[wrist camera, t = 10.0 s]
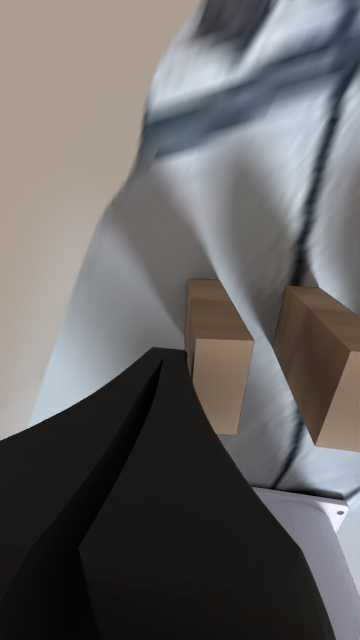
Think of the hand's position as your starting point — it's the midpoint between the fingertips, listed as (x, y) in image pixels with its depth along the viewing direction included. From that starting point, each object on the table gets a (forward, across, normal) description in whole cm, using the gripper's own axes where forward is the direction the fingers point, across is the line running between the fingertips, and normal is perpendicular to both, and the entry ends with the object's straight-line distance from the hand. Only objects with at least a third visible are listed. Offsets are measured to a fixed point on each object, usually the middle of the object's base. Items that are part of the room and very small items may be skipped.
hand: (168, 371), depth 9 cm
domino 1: (+6, -1, 0) cm, 6 cm away
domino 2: (+6, -6, 0) cm, 9 cm away
